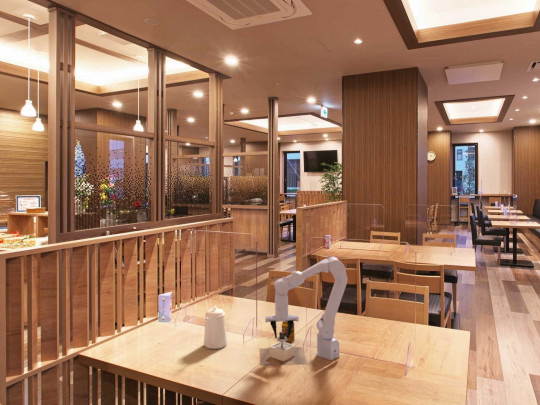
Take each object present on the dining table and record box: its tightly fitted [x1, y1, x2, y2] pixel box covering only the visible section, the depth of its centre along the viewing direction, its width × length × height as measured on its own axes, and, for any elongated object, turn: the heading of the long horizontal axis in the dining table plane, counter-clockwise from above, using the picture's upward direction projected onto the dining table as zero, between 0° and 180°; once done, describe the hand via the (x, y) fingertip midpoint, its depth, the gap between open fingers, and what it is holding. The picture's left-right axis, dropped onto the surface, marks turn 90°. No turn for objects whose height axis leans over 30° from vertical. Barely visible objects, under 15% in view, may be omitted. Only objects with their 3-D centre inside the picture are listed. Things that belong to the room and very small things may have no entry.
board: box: [259, 346, 308, 367], centre depth 183 cm, size 20×18×1 cm
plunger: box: [273, 331, 291, 350], centre depth 182 cm, size 6×6×7 cm
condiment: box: [281, 321, 296, 344], centre depth 201 cm, size 7×8×12 cm
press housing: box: [268, 341, 296, 361], centre depth 182 cm, size 8×8×4 cm
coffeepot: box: [203, 305, 228, 350], centre depth 197 cm, size 11×25×19 cm, turn 168°
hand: (282, 337), depth 182 cm, fingers open, 5 cm apart
